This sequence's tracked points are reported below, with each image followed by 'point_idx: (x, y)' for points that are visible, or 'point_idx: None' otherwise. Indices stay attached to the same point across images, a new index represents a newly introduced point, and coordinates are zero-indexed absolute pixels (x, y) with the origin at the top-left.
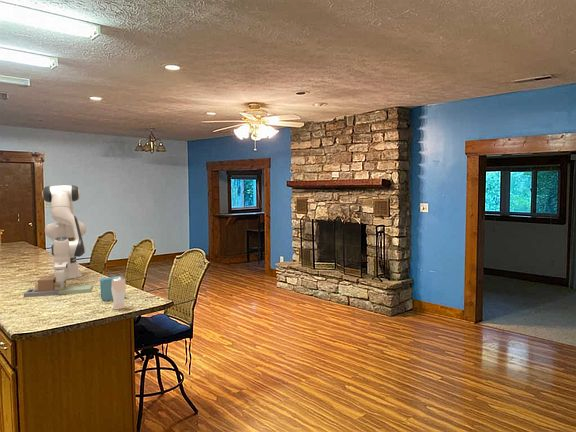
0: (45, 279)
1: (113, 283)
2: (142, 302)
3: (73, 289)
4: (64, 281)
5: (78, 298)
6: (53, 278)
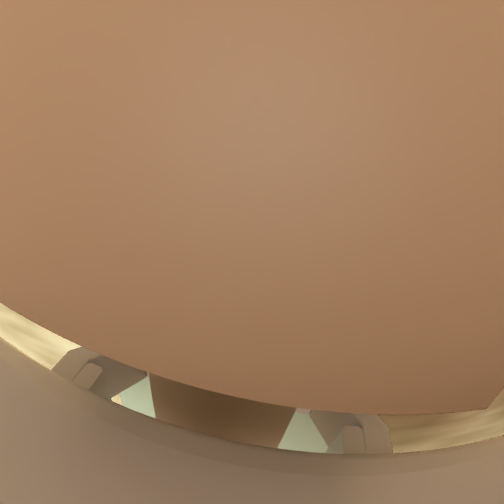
0: (26, 6)
1: None
2: None
3: (145, 395)
4: (270, 436)
5: (13, 339)
6: (112, 340)
